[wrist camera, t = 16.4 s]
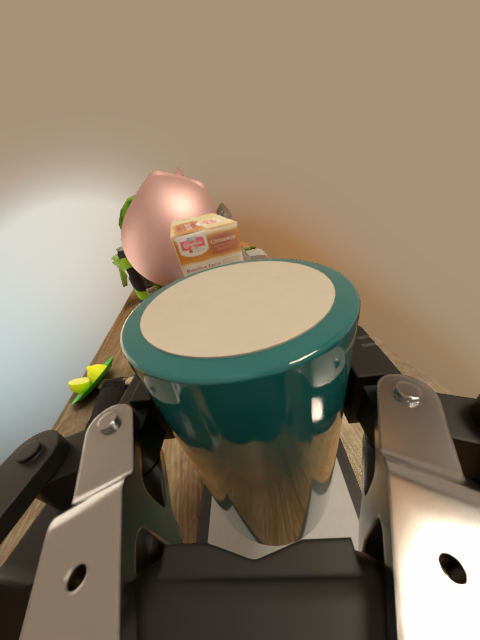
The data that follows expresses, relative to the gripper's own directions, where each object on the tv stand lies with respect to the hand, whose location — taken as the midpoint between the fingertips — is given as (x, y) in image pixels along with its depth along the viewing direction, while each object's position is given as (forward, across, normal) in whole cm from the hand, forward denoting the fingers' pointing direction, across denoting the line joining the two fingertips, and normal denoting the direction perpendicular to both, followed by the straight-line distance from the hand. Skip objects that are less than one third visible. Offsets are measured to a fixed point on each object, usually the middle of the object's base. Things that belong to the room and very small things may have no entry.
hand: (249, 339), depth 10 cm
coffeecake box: (+21, +5, +16) cm, 27 cm away
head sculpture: (+58, +21, +3) cm, 62 cm away
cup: (-2, 0, +6) cm, 7 cm away
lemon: (+14, +25, +15) cm, 32 cm away
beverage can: (+42, +27, +16) cm, 53 cm away
